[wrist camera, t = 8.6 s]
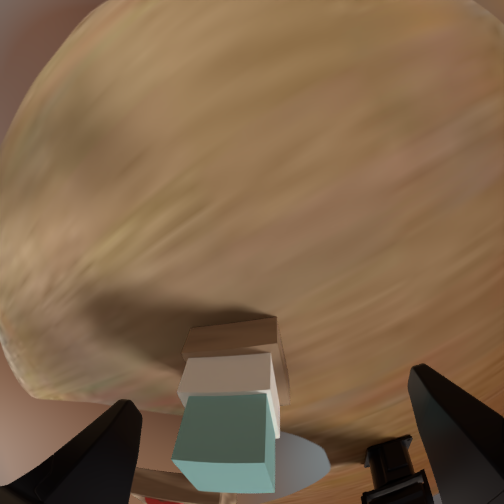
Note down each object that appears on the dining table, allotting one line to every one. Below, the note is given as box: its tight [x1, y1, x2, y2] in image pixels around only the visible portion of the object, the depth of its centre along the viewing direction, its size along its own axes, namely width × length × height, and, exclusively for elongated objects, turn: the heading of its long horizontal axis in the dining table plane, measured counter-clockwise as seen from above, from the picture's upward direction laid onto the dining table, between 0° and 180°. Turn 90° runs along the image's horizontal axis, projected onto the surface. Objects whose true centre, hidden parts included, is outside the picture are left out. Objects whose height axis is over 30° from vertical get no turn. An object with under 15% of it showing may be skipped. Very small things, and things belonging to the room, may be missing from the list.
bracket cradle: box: [130, 468, 238, 504], centre depth 33 cm, size 9×16×6 cm, turn 102°
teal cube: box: [171, 394, 275, 493], centre depth 15 cm, size 5×5×5 cm
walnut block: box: [181, 317, 290, 406], centre depth 22 cm, size 7×7×4 cm
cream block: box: [177, 353, 280, 439], centre depth 19 cm, size 6×6×4 cm
